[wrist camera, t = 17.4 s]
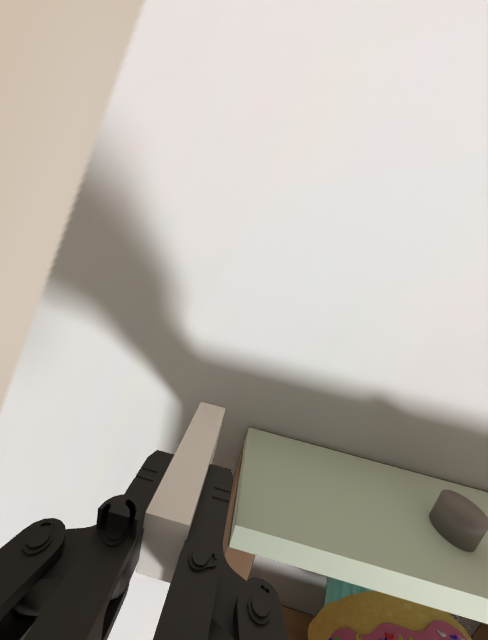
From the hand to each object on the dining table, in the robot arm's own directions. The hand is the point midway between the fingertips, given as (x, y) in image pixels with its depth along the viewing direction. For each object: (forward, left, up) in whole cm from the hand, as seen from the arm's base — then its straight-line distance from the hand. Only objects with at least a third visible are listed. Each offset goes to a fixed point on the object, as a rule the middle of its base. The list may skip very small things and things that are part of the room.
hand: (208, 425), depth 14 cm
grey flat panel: (+13, 0, -1) cm, 13 cm away
